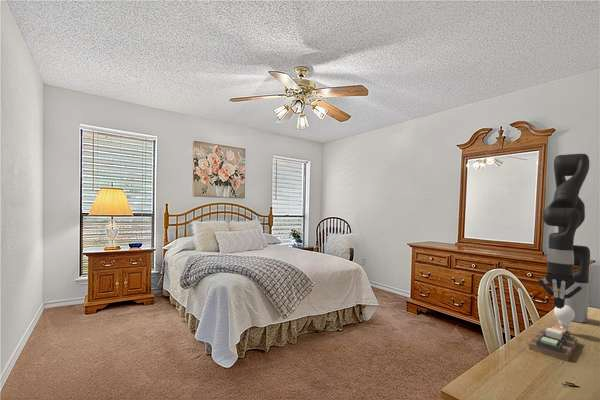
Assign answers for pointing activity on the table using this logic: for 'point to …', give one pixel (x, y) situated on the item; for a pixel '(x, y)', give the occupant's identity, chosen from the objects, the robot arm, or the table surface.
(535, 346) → the button board
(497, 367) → the table surface
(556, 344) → the sage button
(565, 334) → the terracotta button
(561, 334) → the offwhite button
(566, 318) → the lightbulb
